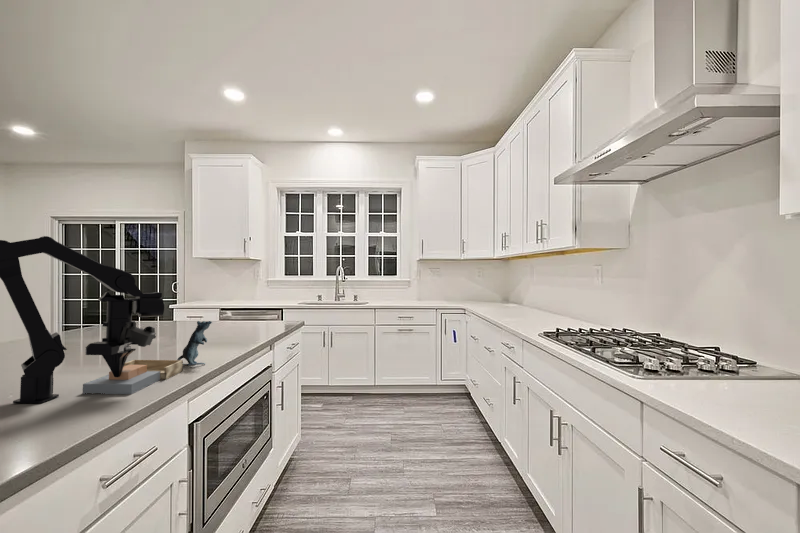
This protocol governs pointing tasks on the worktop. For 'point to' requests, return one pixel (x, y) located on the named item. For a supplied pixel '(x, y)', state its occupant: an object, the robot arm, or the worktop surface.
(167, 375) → the tray
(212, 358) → the worktop surface
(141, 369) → the tile far
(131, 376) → the tile near
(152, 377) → the slate board
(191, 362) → the sculpture
